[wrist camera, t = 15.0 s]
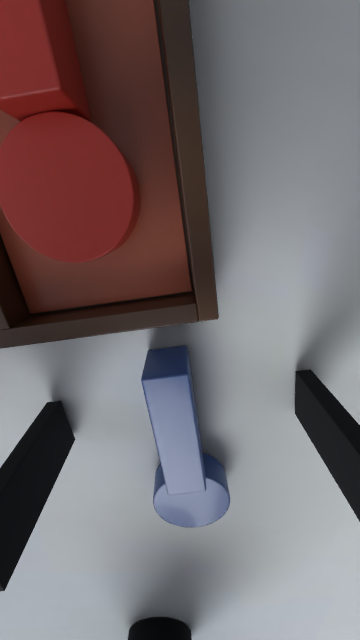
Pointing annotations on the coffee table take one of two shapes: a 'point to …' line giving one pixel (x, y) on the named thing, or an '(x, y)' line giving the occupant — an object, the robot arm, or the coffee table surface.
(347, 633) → the coffee table surface
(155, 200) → the divided sorting tray
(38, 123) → the red spoon
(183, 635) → the cup
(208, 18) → the coffee table surface
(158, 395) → the blue disc-ended stick
